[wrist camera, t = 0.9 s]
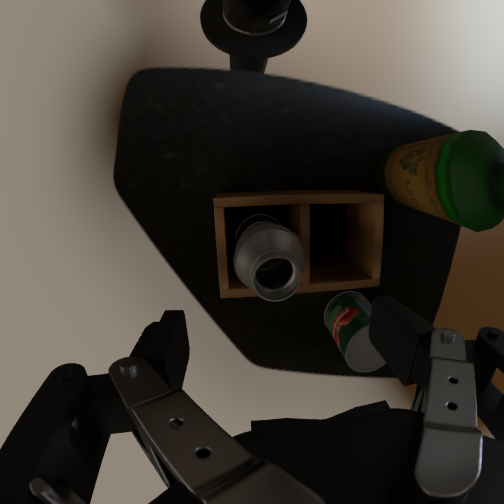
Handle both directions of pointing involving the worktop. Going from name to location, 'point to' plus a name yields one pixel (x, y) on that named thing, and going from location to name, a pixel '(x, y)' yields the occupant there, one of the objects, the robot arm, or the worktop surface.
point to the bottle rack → (298, 221)
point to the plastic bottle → (267, 255)
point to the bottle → (448, 178)
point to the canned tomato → (353, 330)
